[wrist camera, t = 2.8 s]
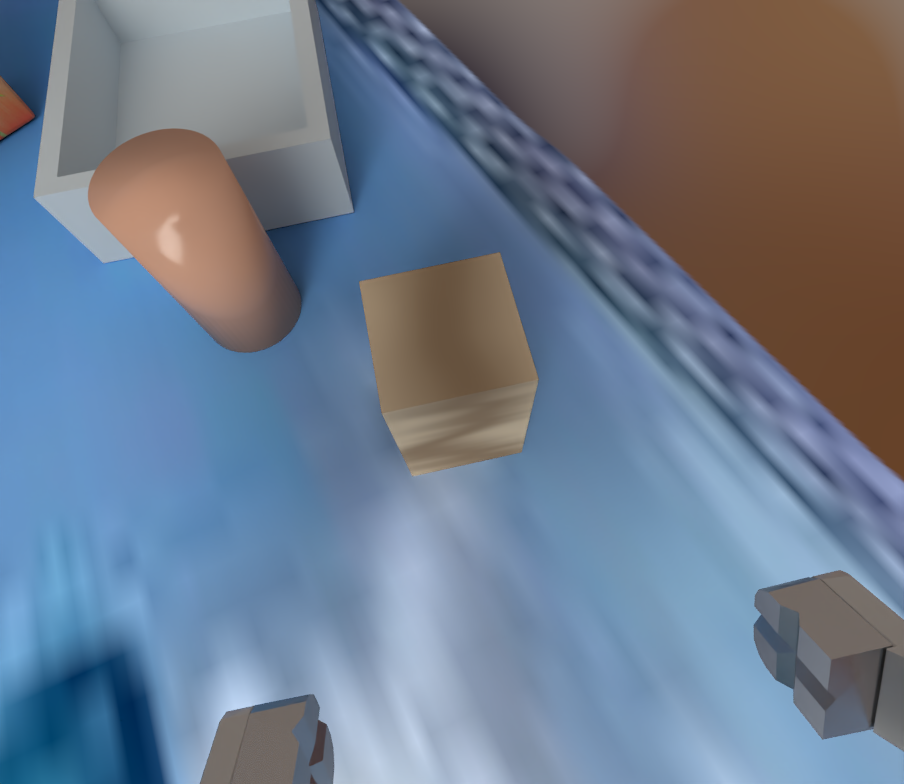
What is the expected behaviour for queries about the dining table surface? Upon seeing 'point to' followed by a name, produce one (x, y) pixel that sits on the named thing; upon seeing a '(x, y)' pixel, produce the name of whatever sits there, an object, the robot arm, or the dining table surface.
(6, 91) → the cracker box
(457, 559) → the dining table surface
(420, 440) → the beech block
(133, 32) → the tote
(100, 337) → the dining table surface
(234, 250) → the brown rounded cylinder
